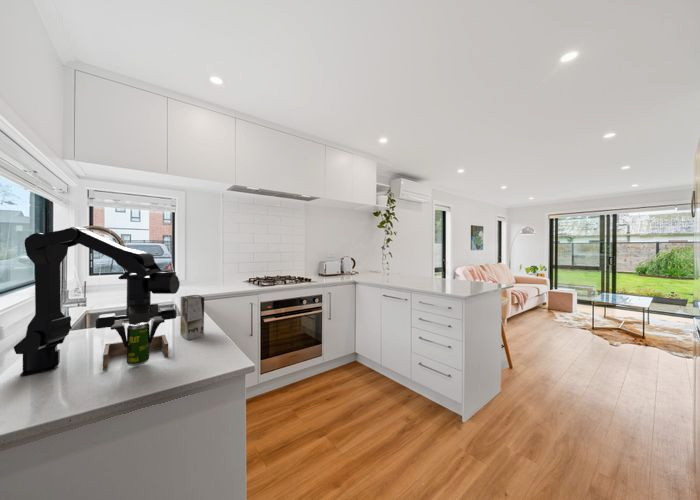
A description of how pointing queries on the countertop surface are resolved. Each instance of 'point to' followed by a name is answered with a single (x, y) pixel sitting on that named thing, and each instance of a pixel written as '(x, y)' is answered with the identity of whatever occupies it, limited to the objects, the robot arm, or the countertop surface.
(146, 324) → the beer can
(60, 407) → the countertop surface
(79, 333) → the countertop surface
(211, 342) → the countertop surface
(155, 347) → the wooden u-shaped frame
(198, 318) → the coffee box
